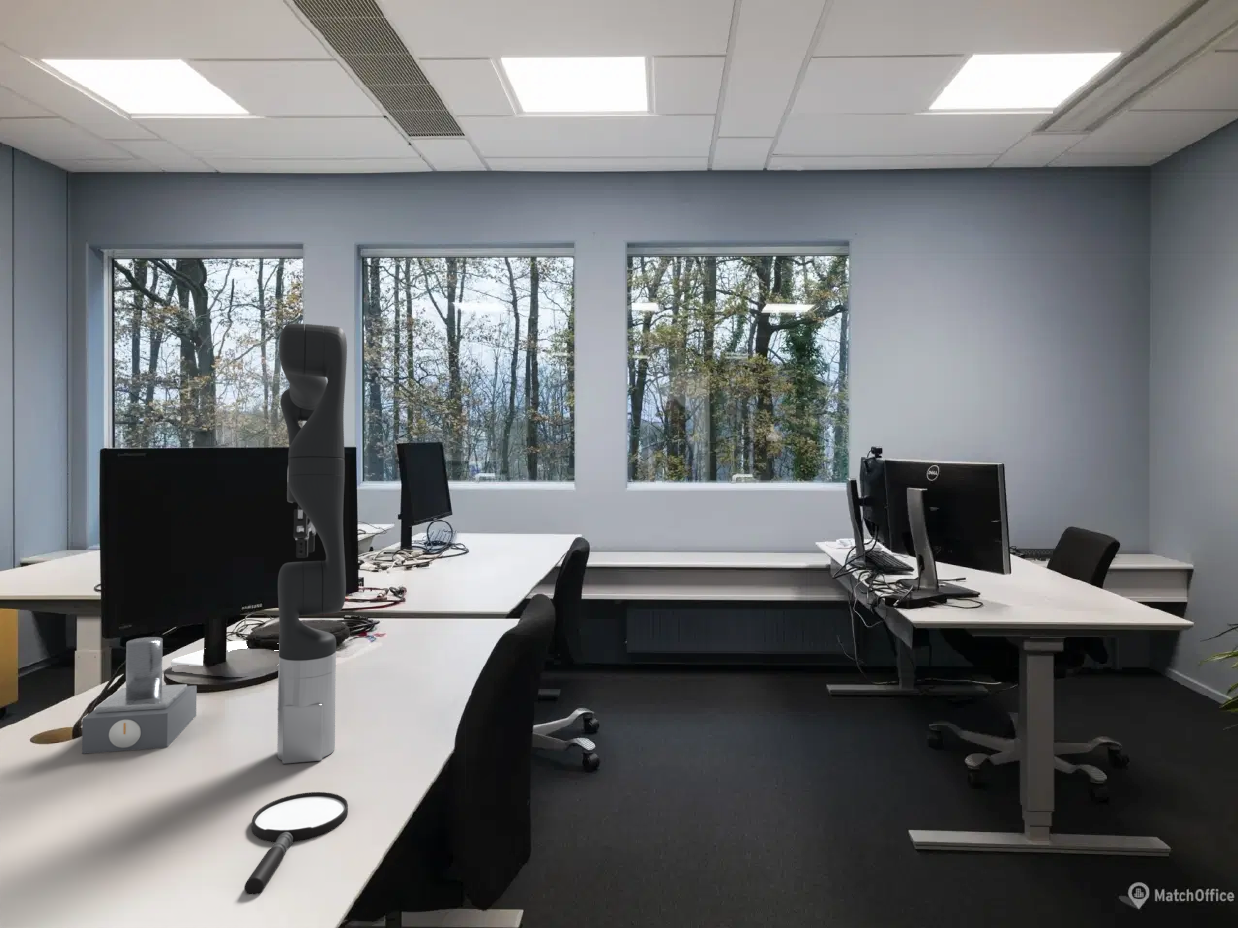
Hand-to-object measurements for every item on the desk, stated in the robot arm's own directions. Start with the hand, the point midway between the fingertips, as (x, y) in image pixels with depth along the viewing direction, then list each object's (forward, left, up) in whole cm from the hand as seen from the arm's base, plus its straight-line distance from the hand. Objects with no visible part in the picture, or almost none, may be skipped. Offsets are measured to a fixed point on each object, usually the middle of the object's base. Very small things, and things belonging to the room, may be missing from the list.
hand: (305, 554), depth 157 cm
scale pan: (-18, +25, -24) cm, 39 cm away
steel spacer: (-18, +24, -23) cm, 38 cm away
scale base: (-18, +24, -30) cm, 43 cm away
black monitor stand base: (+28, +20, -31) cm, 46 cm away
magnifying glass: (-64, -9, -31) cm, 72 cm away
